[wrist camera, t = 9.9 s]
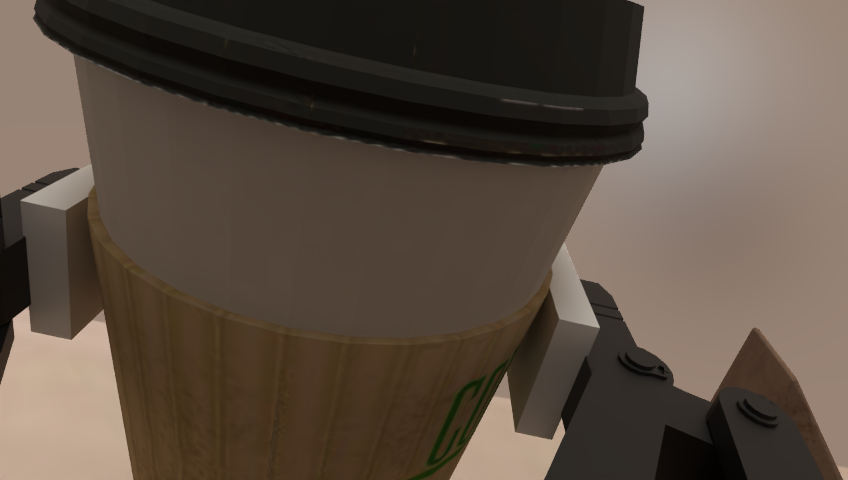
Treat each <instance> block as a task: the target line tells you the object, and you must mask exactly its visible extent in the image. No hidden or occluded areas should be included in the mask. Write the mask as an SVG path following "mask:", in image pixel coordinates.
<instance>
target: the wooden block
mask: <svg viewBox="0 0 848 480" xmlns="http://www.w3.org/2000/svg"><path fill="white" fill-rule="evenodd" d="M725 387H738V388H742V389H746V390H749V391H752V392H754V393H756V394H761V395H763V396H765V397H767V399H768V400H769V399H770V400H772V401H773V402H775V403H776V404H777V405H778V406H779V407H780V408H781V409H782V410H783V411H785V412H786V413H787V414H788V415H789V416H790V417H791V419H792V420H793V421H794V423H795V424H796V425H797V427H798V429H799V431H800V433H801V435H802V437H803V439H804V441H805V443H806V445H807V447H808V449H809V451H810V453H811V455H812V456H813V458H814V460H815V462H816V464H817V466H818V468H819V470H820V472H821V474H822V476H823V478H824V480H843V479H842V477H841V475H840V472H839V470H838V468H837V466H836V464H835V462H834V460H833V457H832V455H831V453H830V451H829V448H828V446H827V444H826V442H825V440H824V438H823V435H822V433H821V432H820V429H819V427H818V424H817V422H816V420H815V418H814V416H813V414H812V411H811V409H810V407H809V405H808V403H807V400H806V398H805V396H804V394H803V392H802V389H801V387H800V385H799V383H798V381H797V379H796V377H795V376H794V375H793V373H792V372H791V371H790V369H789V368H788V367H787V366H786V364H785V363H784V362H783V360H782V359H781V358H780V356H779V355H778V354H777V352H776V351H775V350H774V349H773V347H772V346H771V345H770V343H769V342H768V341H767V339H766V338H765V337H764V335H763V334H762V333H761V332H760V330H759V329H757V328H753V329H752V331H751V332H750V334H749V336H748V337H747V340H746V341H745V343H744V345H743V346H742V348H741V350H740V351H739V353H738V355H737V357H736V358H735V360H734V362H733V364H732V365H731V367H730V369H729V371H728V372H727V374H726V376H725V377H724V379H723V381H722V383H721V384H720V386H719V388H718V390H717V392H716V393H715V395H714V397H713V398H712V400H711V402H712V403H713V402H714V400H715V399H716V397H717V395H718V393H719V392H720V391H721V390H722V389H723V388H725Z"/></svg>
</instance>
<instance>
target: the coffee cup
mask: <svg viewBox="0 0 848 480" xmlns="http://www.w3.org/2000/svg"><path fill="white" fill-rule="evenodd" d="M34 9H35V12H36V13H35V15H34V17H33V19H34V21H35V22H36V24H37V25H38V27H39V28H40V30H41V31H42V33H43V34H44V35H45V36H46V37H48V38H49V39H51V40H53V41H54V42H56V43H57V44H59V45H60V46H62V47H63V48H65V49H66V50H68V51H70V52H71V53H73V54H74V60H75V67H76V73H77V79H78V85H79V91H80V97H81V103H82V109H83V115H84V122H85V128H86V134H87V139H88V146H89V152H90V158H91V164H92V171H93V177H94V183H95V184H94V186H93V187H92V189H91V191H90V192H89V194H88V212H87V218H88V223H89V229H90V235H91V240H92V246H93V252H94V257H95V263H96V269H97V274H98V280H99V286H100V292H101V297H102V303H103V309H104V314H105V320H106V326H107V331H108V337H109V343H110V348H111V354H112V360H113V365H114V371H115V377H116V382H117V388H118V394H119V399H120V405H121V411H122V417H123V422H124V428H125V434H126V439H127V445H128V451H129V456H130V462H131V468H132V473H133V479H134V480H449V479H450V477H451V475H452V473H453V472H454V470H455V468H456V466H457V464H458V462H459V460H460V458H461V456H462V454H463V453H464V451H465V449H466V447H467V445H468V443H469V441H470V439H471V437H472V436H473V434H474V432H475V430H476V428H477V426H478V424H479V422H480V420H481V418H482V417H483V415H484V413H485V411H486V409H487V407H488V405H489V403H490V401H491V400H492V398H493V396H494V394H495V392H496V390H497V388H498V386H499V384H500V382H501V380H502V379H503V377H504V375H505V373H506V371H507V369H508V367H509V365H510V364H511V362H512V360H513V358H514V356H515V354H516V352H517V350H518V348H519V346H520V345H521V343H522V341H523V339H524V337H525V335H526V333H527V331H528V329H529V327H530V326H531V324H532V322H533V320H534V318H535V316H536V314H537V312H538V310H539V309H540V307H541V305H542V303H543V301H544V299H545V297H546V295H547V293H548V290H549V286H550V283H551V279H552V276H553V272H552V264H553V262H554V260H555V258H556V256H557V255H558V253H559V251H560V249H561V247H562V245H563V243H564V241H565V239H566V237H567V235H568V233H569V231H570V229H571V227H572V226H573V224H574V222H575V220H576V217H577V216H578V214H579V212H580V210H581V208H582V206H583V204H584V202H585V200H586V198H587V196H588V195H589V193H590V191H591V189H592V187H593V185H594V183H595V181H596V179H597V177H598V175H599V173H600V171H601V169H602V168H603V166H604V165H605V164H610V163H614V162H618V161H623V160H627V159H630V158H632V157H633V156H634V155H635V154H636V153H638V152H639V151H640V150H641V149H642V147H641V143H642V142H643V140H644V129H643V123H642V121H644V120H645V118H647V117H648V100H647V96H646V95H645V94H643V93H642V92H641V91H640V90H639V89H638V88H636V87H635V84H636V75H637V66H638V58H639V49H640V39H641V31H642V22H643V13H644V6H641V5H639V4H636V3H634V2H631V1H628V0H37V1H36V4H35V7H34Z"/></svg>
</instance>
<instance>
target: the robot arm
mask: <svg viewBox="0 0 848 480" xmlns="http://www.w3.org/2000/svg"><path fill="white" fill-rule="evenodd" d="M94 184H95V183H94V177H93V171H92V164H89V165H87V166H85V167H83V168H81V169H79V168H72V169H68V170H63V171H58V172H53V173H51V174H49V175H47V176H45V177H43V178H41V179H38V180H37V181H35V183H31V184H29V185H26V186H25V187H23V188H22V190H19V189H18V190H16V191H14V192H12V193H10V194H8V195H6V196H4V197H2V198H0V384H1V380H2V377H3V374H4V370H5V367H6V364H7V360H8V357H9V354H10V350H11V347H12V344H13V340H14V329H13V318H14V317H15V316H16V315H18V314H19V313H20V312H22V311H23V310H24V309H25V308H27V307H28V306H29V312H30V324H31V332H36V333H41V334H46V335H51V336H56V337H60V338H65V339H70V340H72V339H73V338H74V337H75V336H76V335H77V334H78V333H79V332H80V331H81V330H82V329H83V328H84V327H85V326H86V325H87V324H88V323H89V322H91V321H92V320H93V318H95V317H96V315H98V314H99V313H100V312H101V311H102V310H103V303H102V297H101V292H100V286H99V280H98V274H97V269H96V263H95V257H94V252H93V246H92V240H91V235H90V229H89V223H88V218H87V212H88V194H89V192H90V191H91V189H92V187H93V186H94ZM552 272H553V276H552V279H551V283H550V286H549V290H548V293H547V295H546V297H545V299H544V301H543V303H542V305H541V307H540V309H539V310H538V312H537V314H536V316H535V318H534V320H533V322H532V324H531V326H530V327H529V329H528V331H527V333H526V335H525V337H524V339H523V341H522V343H521V345H520V346H519V348H518V350H517V352H516V354H515V356H514V358H513V360H512V362H511V364H510V365H509V367H508V369H507V376H508V383H509V390H510V398H511V405H512V412H513V419H514V427H515V432H518V433H522V434H527V435H532V436H537V437H542V438H546V439H551V440H552V438H553V436H554V434H555V432H556V429H557V427H558V425H559V422H560V420H561V418H562V420H563V424H564V428H565V435H564V437H563V439H562V441H561V444H560V446H559V448H558V450H557V453H556V455H555V457H554V459H553V461H552V464H551V466H550V468H549V470H548V473H547V475H546V477H545V479H544V480H824V478H823V476H822V474H821V472H820V470H819V468H818V466H817V464H816V462H815V460H814V458H813V456H812V455H811V453H810V451H809V449H808V447H807V445H806V443H805V441H804V439H803V437H802V435H801V433H800V431H799V429H798V427H797V425H796V424H795V423H794V421H793V420H792V419H791V417H790V416H789V415H788V414H787V413H786V412H785V411H783V410H782V409H781V408H780V407H779V406H778V405H777V404H776V403H775V402H773V401H772V400H770V399H769V400H768V399H767V397H765V396H763V395H761V394H756V393H754V392H752V391H749V390H746V389H742V388H738V387H725V388H723V389H722V390H721V391H720V392H719V393H718V395H717V397H716V399H715V400H714V402H713V403H712V402H709V401H707V400H704V399H702V398H699V397H697V396H695V395H692V394H690V393H687V392H685V391H683V390H681V389H678V388H676V387H674V386H673V382H674V379H673V374H672V372H671V371H670V369H669V368H668V366H667V365H666V364H665V363H664V362H663V361H661V360H660V359H659V358H658V357H657V356H655V355H653V354H652V353H650V352H648V351H646V350H644V349H642V348H639V347H637V345H636V343H635V341H634V339H633V337H632V335H631V333H630V331H629V329H628V327H627V326H626V323H625V322H624V321H623V317H622V315H621V313H620V311H618V307H617V305H616V303H615V301H614V299H613V297H612V296H611V295H610V294H609V293H608V292H607V291H606V290H605V289H604V288H603V287H602V286H600V285H599V284H598V283H594V282H590V281H585V280H581V279H579V277H578V274H577V272H576V269H575V267H574V265H573V262H572V260H571V258H570V255H569V253H568V251H567V248H566V246H565V243H563V245H562V247H561V249H560V251H559V253H558V255H557V256H556V258H555V260H554V262H553V264H552Z"/></svg>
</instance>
